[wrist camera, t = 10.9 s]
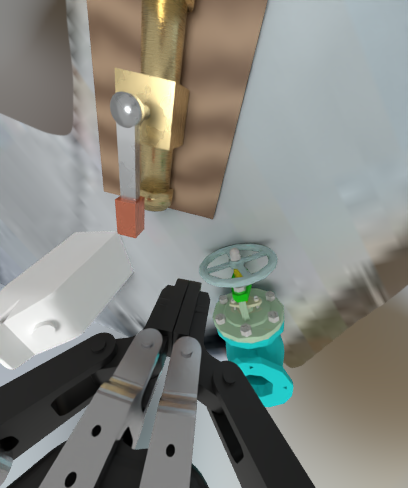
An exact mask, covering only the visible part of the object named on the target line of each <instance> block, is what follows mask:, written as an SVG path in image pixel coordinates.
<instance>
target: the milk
mask: <svg viewBox="0 0 408 488" xmlns="http://www.w3.org/2000/svg"><path fill="white" fill-rule="evenodd" d="M133 272H134V271H133V268H132V266H131V263H130V260H129V258H128V255H127V252H126V250H125V247H124V245H123V242H122V239H121V237H120V234H118V232H117V231H102V232H75V233H74V234H72V235H71V236H70V237H69V238H67V239H66V240H65V241H63V242H62V243H61V244H59V245H58V246H57V247H56V248H54V249H53V250H52V251H50V252H49V253H48V254H46V255H45V256H44V257H43V258H41V259H40V260H39V261H37V262H36V263H35V264H33V265H32V266H31V267H30V268H28V269H27V270H26V271H24V272H23V273H22V274H21V275H19V276H18V277H17V278H15V279H14V280H13V281H11V282H10V283H9V284H8V285H6V286H5V287H4V288H3V289H2V290H1V292H0V363H1V364H2V365H3V366H5V367H6V368H7V369H13V370H14V369H16V368H17V367H19V366H20V365H22V364H23V363H25V362H26V361H28V360H29V359H30V358H32V357H33V356H34V355H35V354H39V353H42V352H44V351H47V350H49V349H51V348H54V347H56V346H58V345H61V344H63V343H66V342H68V341H70V340H72V339H75V338H76V337H78V336H80V335H81V334H82V333H84V332H85V331H86V330H87V328H88V327H89V326H90V325H91V323H92V322H93V321H94V320H95V319H96V317H97V316H98V315H99V314H100V313H101V311H102V310H103V309H104V308H105V306H106V305H107V304H108V303H109V302H110V300H111V299H112V298H113V297H114V295H115V294H116V293H117V292H118V291H119V289H120V288H121V287H122V286H123V284H124V283H125V282H126V281H127V280H128V278H129V277H130V276H131V275H132V273H133Z"/></svg>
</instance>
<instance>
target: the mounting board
mask: <svg viewBox="0 0 408 488" xmlns="http://www.w3.org/2000/svg"><path fill="white" fill-rule="evenodd" d="M267 1H268V0H195V2H194V9H193V11H192V12H190V13H187V18H186V28H185V38H184V47H183V57H182V67H181V77H180V85H182V86H183V87H185V88H187V89H188V90H190V91H189V99H188V107H187V115H186V123H185V131H184V139H183V145H182V146H179V147H177V148H174V149H173V157H172V167H171V177H170V187H171V188H172V189H173V197H172V204H171V206H169V207H167V208H171V209H175V210H179V211H183V212H187V213H191V214H195V215H199V216H202V217H206V218H210V219H213V217H214V213H215V209H216V205H217V201H218V197H219V193H220V189H221V185H222V181H223V177H224V173H225V169H226V165H227V161H228V157H229V153H230V149H231V145H232V141H233V137H234V133H235V129H236V125H237V121H238V117H239V113H240V109H241V105H242V101H243V97H244V93H245V89H246V85H247V81H248V77H249V73H250V69H251V65H252V61H253V57H254V53H255V49H256V45H257V41H258V37H259V33H260V29H261V25H262V21H263V17H264V13H265V9H266V5H267ZM87 9H88V20H89V31H90V42H91V53H92V64H93V75H94V86H95V98H96V109H97V120H98V131H99V142H100V153H101V164H102V175H103V186H104V192H108V193H112V194H116V195H120V179H119V162H118V145H117V128H116V121H115V120H114V118H113V117H112V114H111V111H110V101H111V98H112V96H113V95H114V94H115V70H114V67H115V68H119V69H123V70H128V71H132V72H136V73H140V74H141V0H87ZM120 196H121V195H120Z"/></svg>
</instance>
